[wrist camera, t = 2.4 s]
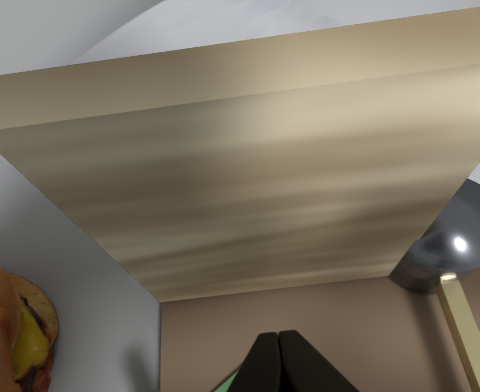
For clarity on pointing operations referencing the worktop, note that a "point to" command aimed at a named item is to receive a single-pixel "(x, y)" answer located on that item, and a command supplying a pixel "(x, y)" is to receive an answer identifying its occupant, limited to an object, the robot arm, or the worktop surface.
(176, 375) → the tuner board
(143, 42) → the worktop surface
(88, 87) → the wood grain plank
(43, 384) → the burger
